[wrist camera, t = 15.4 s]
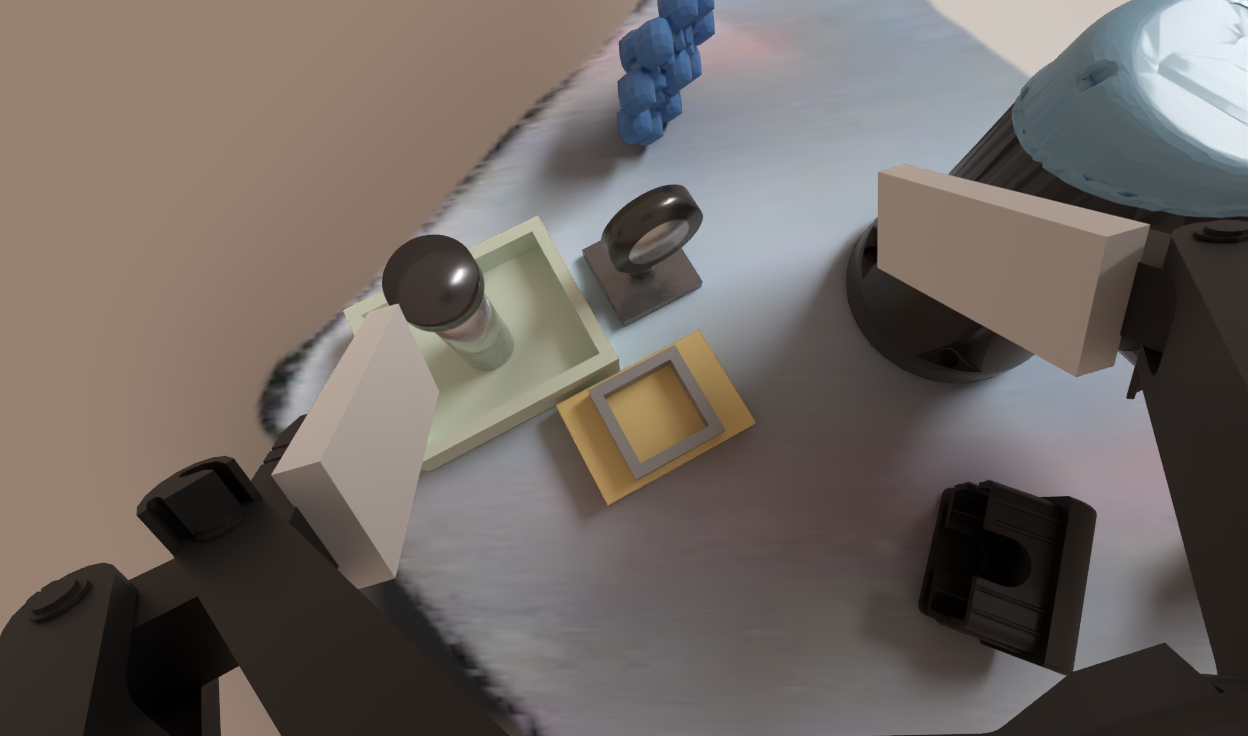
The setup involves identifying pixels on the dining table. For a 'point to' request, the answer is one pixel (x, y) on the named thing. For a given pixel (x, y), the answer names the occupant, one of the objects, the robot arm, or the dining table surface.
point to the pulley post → (647, 252)
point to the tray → (543, 345)
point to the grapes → (660, 67)
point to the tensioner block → (654, 416)
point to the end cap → (1011, 570)
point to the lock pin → (448, 299)
